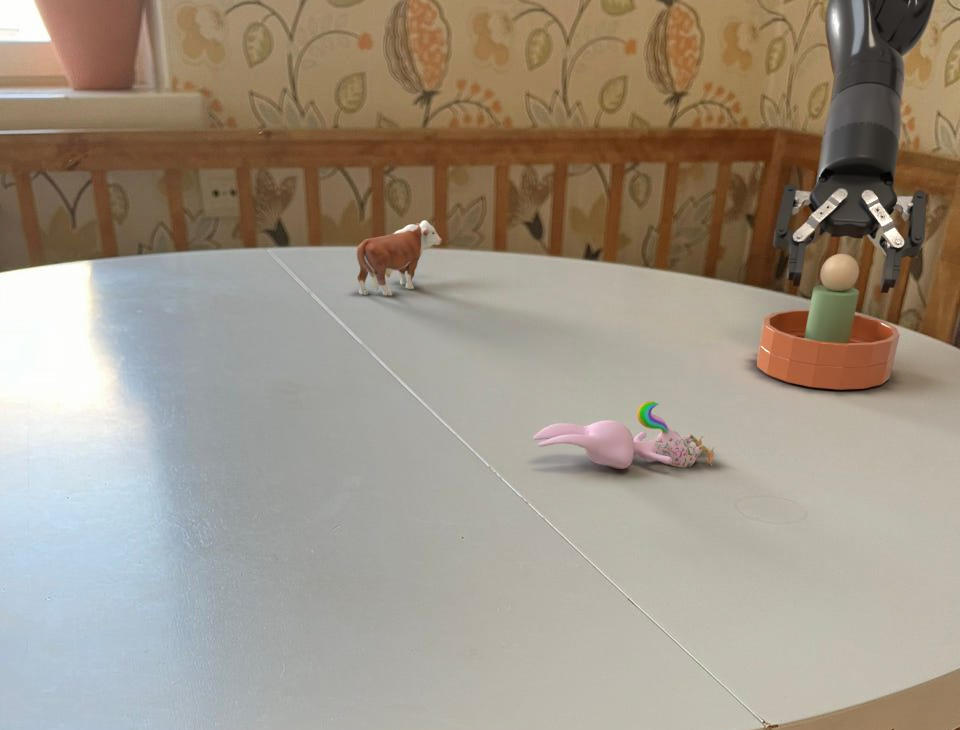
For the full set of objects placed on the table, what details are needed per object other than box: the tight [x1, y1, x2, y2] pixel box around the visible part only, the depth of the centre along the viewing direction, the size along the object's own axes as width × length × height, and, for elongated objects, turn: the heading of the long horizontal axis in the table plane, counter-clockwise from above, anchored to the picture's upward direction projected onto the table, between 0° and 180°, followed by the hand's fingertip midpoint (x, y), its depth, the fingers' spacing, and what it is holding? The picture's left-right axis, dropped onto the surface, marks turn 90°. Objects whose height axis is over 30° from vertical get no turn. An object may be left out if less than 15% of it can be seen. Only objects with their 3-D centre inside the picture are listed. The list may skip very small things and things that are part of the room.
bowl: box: [756, 308, 901, 391], centre depth 107 cm, size 13×13×5 cm
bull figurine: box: [356, 219, 443, 297], centre depth 133 cm, size 4×13×8 cm, turn 137°
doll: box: [804, 253, 860, 343], centre depth 105 cm, size 4×4×11 cm
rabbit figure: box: [532, 400, 716, 470], centre depth 84 cm, size 6×6×15 cm
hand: (840, 285), depth 104 cm, fingers open, 8 cm apart
